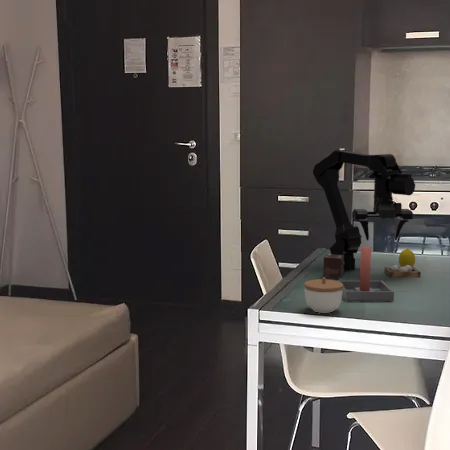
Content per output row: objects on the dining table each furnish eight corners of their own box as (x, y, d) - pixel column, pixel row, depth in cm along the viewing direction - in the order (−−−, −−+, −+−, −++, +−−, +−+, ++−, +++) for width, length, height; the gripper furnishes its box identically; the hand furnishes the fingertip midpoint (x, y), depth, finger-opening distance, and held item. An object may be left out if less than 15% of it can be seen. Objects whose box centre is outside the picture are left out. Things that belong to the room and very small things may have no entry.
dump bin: (337, 290, 221) (337, 280, 221) (382, 290, 222) (382, 280, 221) (345, 302, 207) (346, 292, 207) (393, 301, 208) (394, 291, 207)
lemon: (416, 272, 246) (417, 249, 245) (400, 272, 246) (401, 249, 245) (412, 269, 251) (413, 247, 250) (396, 269, 251) (397, 246, 250)
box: (340, 280, 235) (341, 258, 234) (322, 278, 237) (323, 257, 236) (344, 276, 241) (344, 254, 240) (326, 274, 243) (326, 253, 242)
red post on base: (354, 291, 217) (355, 245, 215) (370, 291, 218) (372, 245, 215) (358, 296, 211) (359, 249, 209) (375, 296, 212) (376, 249, 209)
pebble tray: (390, 279, 236) (390, 272, 235) (384, 274, 243) (384, 267, 243) (420, 279, 236) (420, 272, 235) (413, 274, 244) (413, 267, 243)
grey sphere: (391, 274, 239) (391, 266, 238) (389, 272, 242) (389, 264, 241) (400, 274, 239) (400, 266, 238) (398, 272, 242) (398, 264, 241)
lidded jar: (295, 310, 198) (296, 277, 197) (319, 303, 206) (320, 271, 204) (326, 318, 191) (327, 284, 189) (350, 310, 198) (351, 277, 197)
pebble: (404, 274, 239) (404, 266, 239) (402, 272, 242) (402, 264, 241) (413, 274, 239) (413, 266, 239) (410, 272, 242) (411, 264, 242)
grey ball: (399, 276, 237) (400, 267, 236) (397, 274, 240) (397, 265, 239) (408, 276, 237) (409, 267, 236) (406, 274, 240) (406, 265, 239)
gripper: (359, 195, 224) (358, 244, 226) (418, 195, 224) (416, 244, 227) (352, 192, 235) (351, 238, 237) (409, 191, 235) (407, 238, 238)
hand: (381, 240), depth 234 cm, fingers open, 9 cm apart
